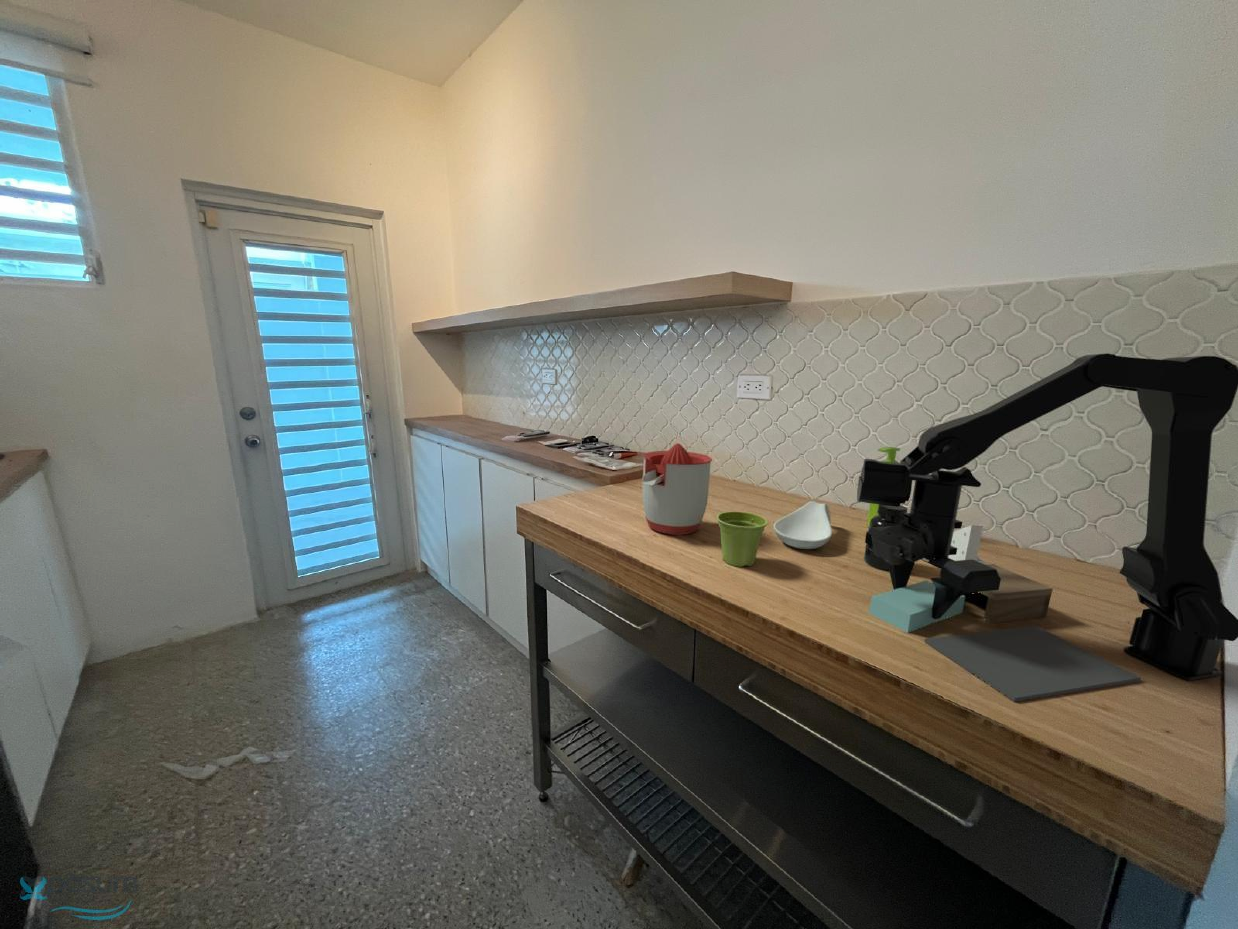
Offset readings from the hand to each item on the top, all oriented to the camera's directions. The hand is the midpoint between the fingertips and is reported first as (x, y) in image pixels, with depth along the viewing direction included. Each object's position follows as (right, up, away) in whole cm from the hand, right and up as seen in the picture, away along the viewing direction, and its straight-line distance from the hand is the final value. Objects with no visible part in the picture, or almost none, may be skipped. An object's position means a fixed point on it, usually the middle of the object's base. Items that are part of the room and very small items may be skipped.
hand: (916, 606), depth 72 cm
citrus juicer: (-34, +7, +36) cm, 50 cm away
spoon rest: (-4, +5, +33) cm, 34 cm away
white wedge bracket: (+20, +1, +17) cm, 26 cm away
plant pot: (-23, +3, +18) cm, 30 cm away
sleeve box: (+14, -1, +3) cm, 15 cm away
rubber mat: (+7, -4, -11) cm, 14 cm away
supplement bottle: (+5, +2, +19) cm, 20 cm away
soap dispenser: (+17, +6, +40) cm, 44 cm away
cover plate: (0, -1, 0) cm, 1 cm away
